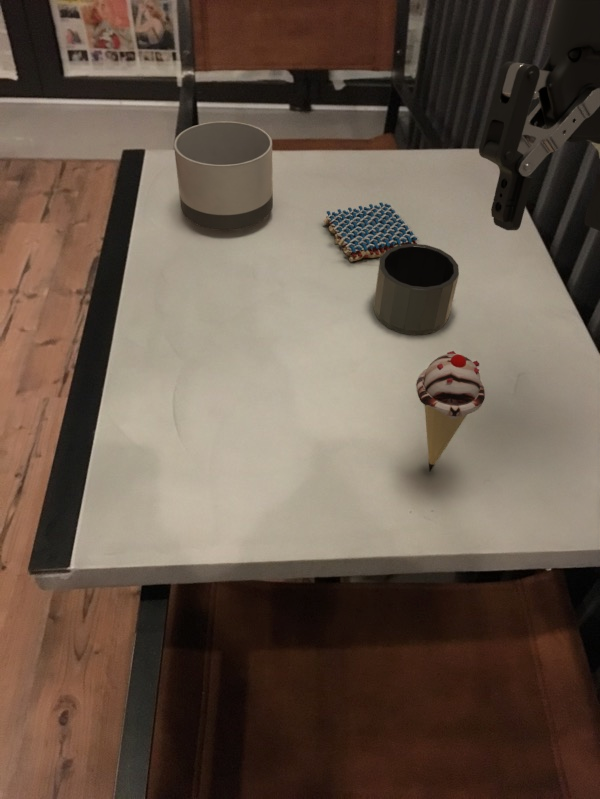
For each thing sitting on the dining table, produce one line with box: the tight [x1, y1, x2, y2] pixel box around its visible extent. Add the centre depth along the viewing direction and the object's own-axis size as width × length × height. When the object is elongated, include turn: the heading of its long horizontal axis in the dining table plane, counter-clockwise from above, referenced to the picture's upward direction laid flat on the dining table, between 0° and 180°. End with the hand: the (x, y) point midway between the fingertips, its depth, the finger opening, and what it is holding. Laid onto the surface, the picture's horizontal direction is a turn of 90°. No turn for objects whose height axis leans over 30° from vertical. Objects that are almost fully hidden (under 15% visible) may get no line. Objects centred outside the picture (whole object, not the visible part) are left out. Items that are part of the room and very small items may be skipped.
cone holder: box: [373, 243, 460, 336], centre depth 80 cm, size 9×9×6 cm
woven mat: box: [323, 202, 420, 263], centre depth 93 cm, size 10×11×2 cm
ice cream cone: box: [415, 350, 486, 473], centre depth 60 cm, size 6×6×15 cm
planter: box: [173, 120, 274, 231], centre depth 93 cm, size 13×13×10 cm
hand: (552, 227), depth 50 cm, fingers open, 8 cm apart
